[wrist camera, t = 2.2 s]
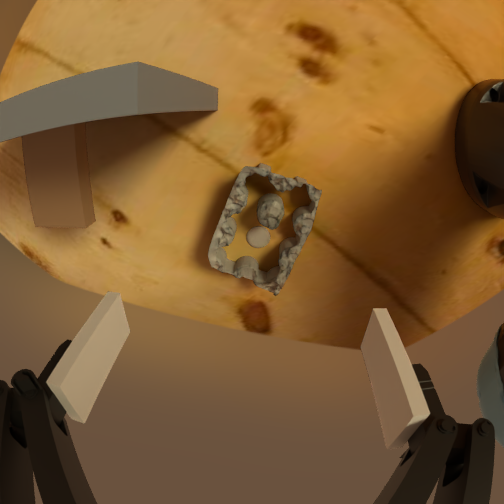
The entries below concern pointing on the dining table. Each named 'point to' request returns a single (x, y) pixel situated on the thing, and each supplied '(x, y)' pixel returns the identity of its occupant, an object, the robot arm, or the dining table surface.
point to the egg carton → (263, 229)
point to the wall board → (74, 130)
